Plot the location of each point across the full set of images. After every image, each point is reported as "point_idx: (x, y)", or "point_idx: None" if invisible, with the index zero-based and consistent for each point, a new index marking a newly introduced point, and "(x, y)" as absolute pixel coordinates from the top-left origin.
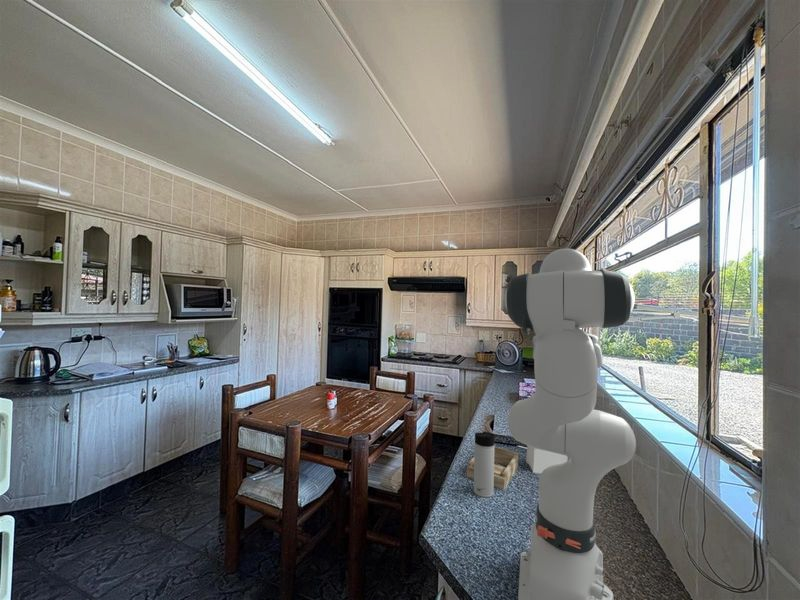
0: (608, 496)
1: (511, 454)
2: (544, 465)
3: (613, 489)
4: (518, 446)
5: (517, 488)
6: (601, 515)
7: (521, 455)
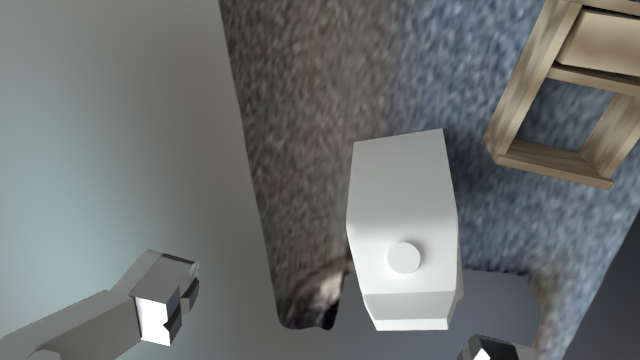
0: (273, 105)
1: (515, 157)
2: (414, 148)
3: (261, 141)
4: None
5: (500, 42)
6: (296, 6)
7: None
